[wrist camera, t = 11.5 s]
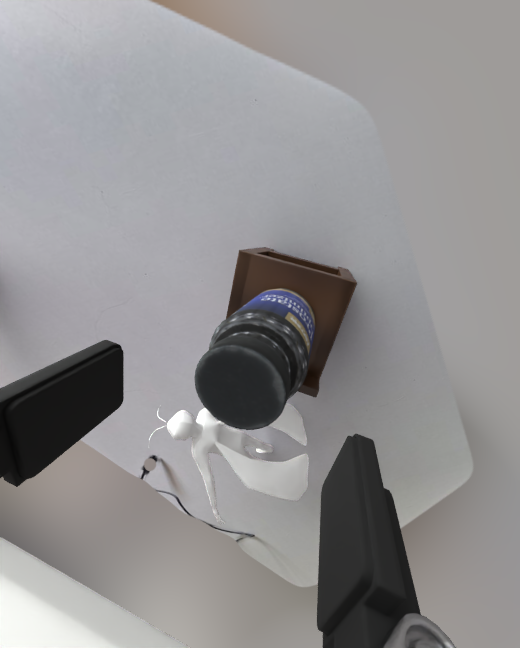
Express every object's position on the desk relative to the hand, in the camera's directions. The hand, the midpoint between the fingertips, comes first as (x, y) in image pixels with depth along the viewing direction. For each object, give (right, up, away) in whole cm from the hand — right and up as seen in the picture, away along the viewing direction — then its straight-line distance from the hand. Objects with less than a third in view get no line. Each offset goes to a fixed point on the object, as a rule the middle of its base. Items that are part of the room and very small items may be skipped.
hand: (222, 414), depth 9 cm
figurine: (+2, -9, +27) cm, 28 cm away
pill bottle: (+3, +4, +12) cm, 13 cm away
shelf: (+6, +7, +20) cm, 22 cm away
